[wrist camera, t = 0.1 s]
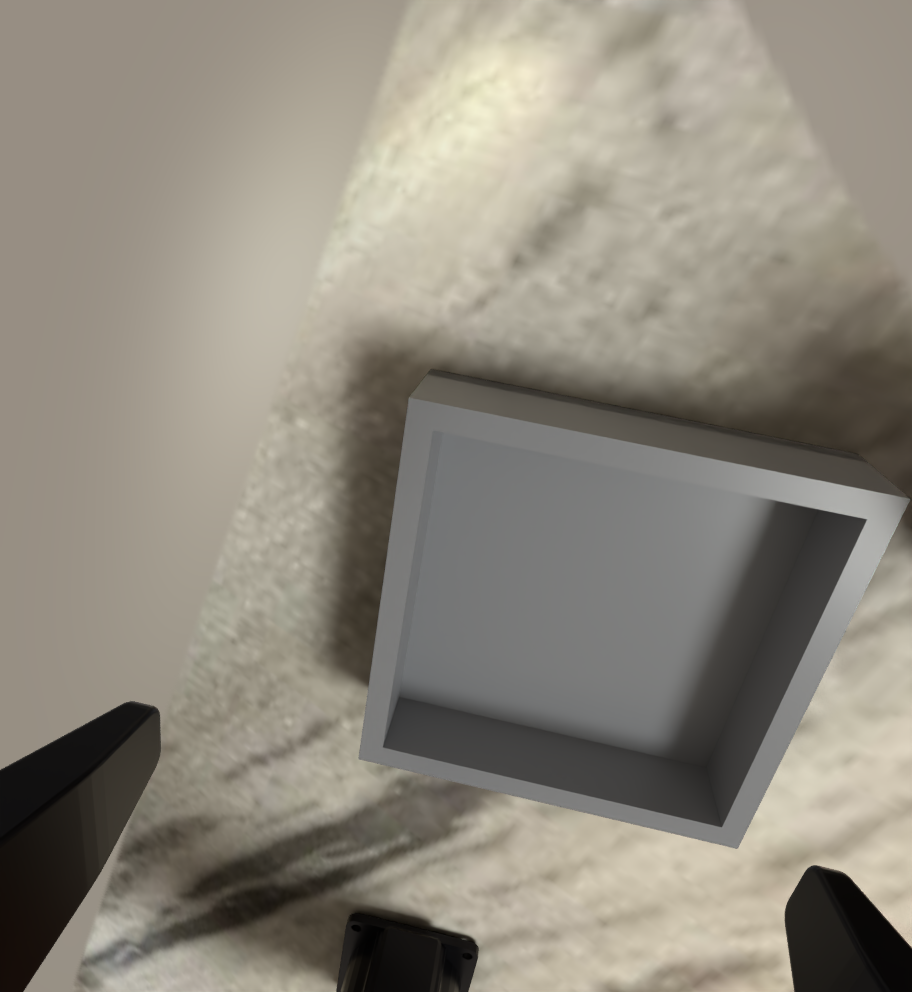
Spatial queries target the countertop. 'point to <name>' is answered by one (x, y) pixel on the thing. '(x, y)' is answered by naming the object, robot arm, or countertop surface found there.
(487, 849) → the countertop surface
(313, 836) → the countertop surface
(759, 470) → the tray
